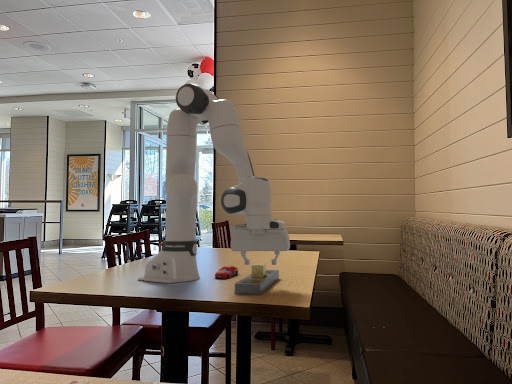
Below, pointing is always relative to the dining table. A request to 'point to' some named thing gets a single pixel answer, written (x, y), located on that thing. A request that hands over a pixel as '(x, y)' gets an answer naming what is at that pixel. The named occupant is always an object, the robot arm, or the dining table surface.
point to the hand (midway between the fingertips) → (260, 264)
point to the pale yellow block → (259, 270)
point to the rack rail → (256, 283)
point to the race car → (226, 272)
